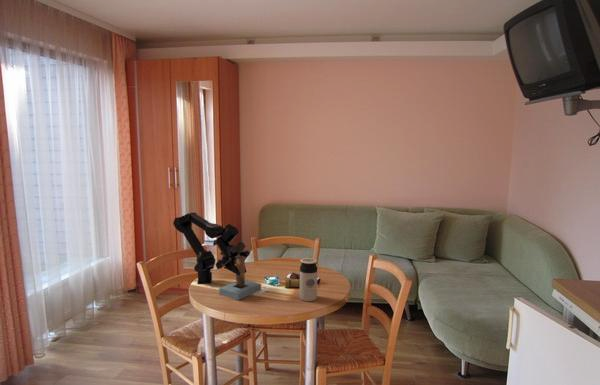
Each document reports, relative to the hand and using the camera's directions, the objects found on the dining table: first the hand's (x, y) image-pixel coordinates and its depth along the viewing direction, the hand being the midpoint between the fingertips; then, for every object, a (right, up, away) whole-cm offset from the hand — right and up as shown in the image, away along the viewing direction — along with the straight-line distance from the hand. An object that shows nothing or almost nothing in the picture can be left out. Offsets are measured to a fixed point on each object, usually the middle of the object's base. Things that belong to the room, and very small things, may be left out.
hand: (242, 273), depth 179 cm
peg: (-1, -7, +2) cm, 7 cm away
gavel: (+24, -8, +18) cm, 31 cm away
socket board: (-1, -9, +2) cm, 9 cm away
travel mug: (+31, -10, -5) cm, 33 cm away
